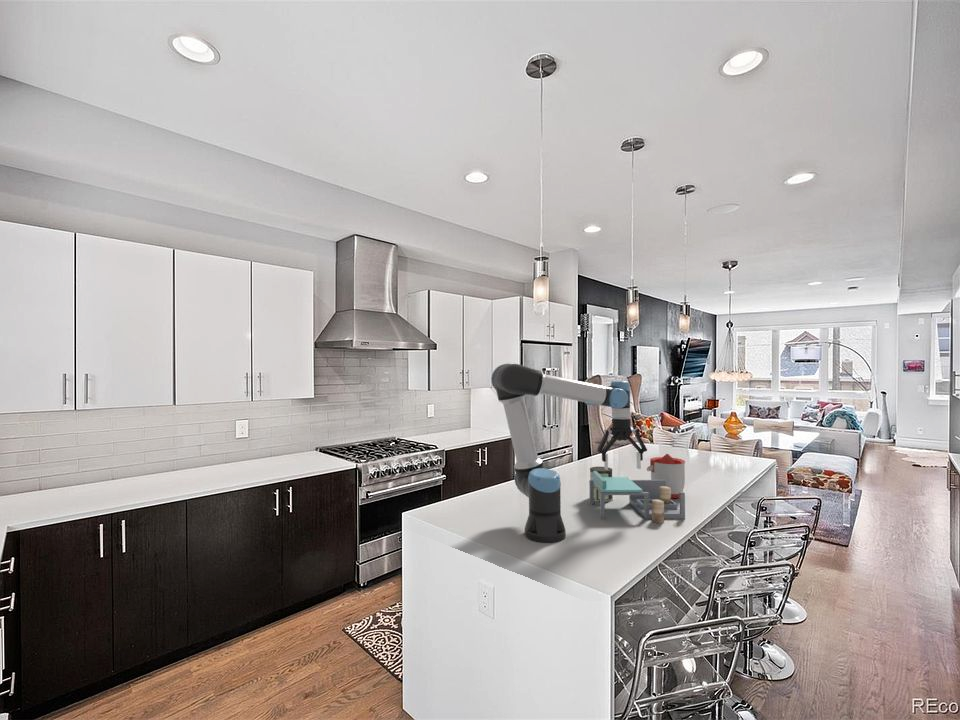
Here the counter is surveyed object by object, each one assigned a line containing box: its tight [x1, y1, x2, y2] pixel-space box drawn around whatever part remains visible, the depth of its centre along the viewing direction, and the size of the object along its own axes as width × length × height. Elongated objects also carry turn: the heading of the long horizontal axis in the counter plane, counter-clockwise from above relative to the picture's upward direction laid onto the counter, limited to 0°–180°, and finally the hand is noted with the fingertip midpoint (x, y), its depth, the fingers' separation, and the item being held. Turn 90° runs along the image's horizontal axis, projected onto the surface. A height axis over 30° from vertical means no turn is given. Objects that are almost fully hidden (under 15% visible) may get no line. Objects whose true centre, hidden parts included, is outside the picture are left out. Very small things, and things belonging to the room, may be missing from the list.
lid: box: [592, 471, 643, 492], centre depth 202 cm, size 22×16×4 cm
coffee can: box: [589, 466, 614, 503], centre depth 220 cm, size 10×10×14 cm
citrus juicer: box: [646, 453, 686, 499], centre depth 225 cm, size 16×17×20 cm
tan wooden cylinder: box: [659, 486, 672, 504], centre depth 201 cm, size 4×4×8 cm
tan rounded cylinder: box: [651, 500, 665, 524], centre depth 188 cm, size 4×4×8 cm
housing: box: [588, 479, 686, 520], centre depth 202 cm, size 22×34×10 cm, turn 89°
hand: (622, 468), depth 196 cm, fingers open, 13 cm apart
